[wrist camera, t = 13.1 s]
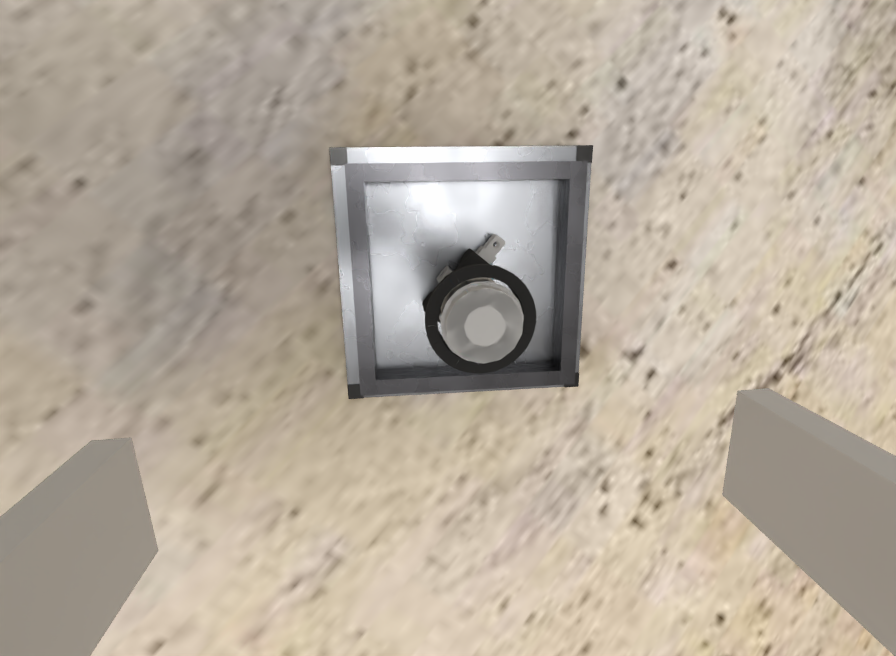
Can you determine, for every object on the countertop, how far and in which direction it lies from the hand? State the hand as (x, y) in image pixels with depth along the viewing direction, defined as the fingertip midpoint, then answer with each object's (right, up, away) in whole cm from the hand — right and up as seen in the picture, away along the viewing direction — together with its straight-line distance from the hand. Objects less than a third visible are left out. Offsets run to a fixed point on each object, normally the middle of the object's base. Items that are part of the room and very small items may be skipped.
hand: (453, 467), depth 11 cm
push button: (+1, +6, +21) cm, 22 cm away
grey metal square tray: (+1, +7, +22) cm, 23 cm away
